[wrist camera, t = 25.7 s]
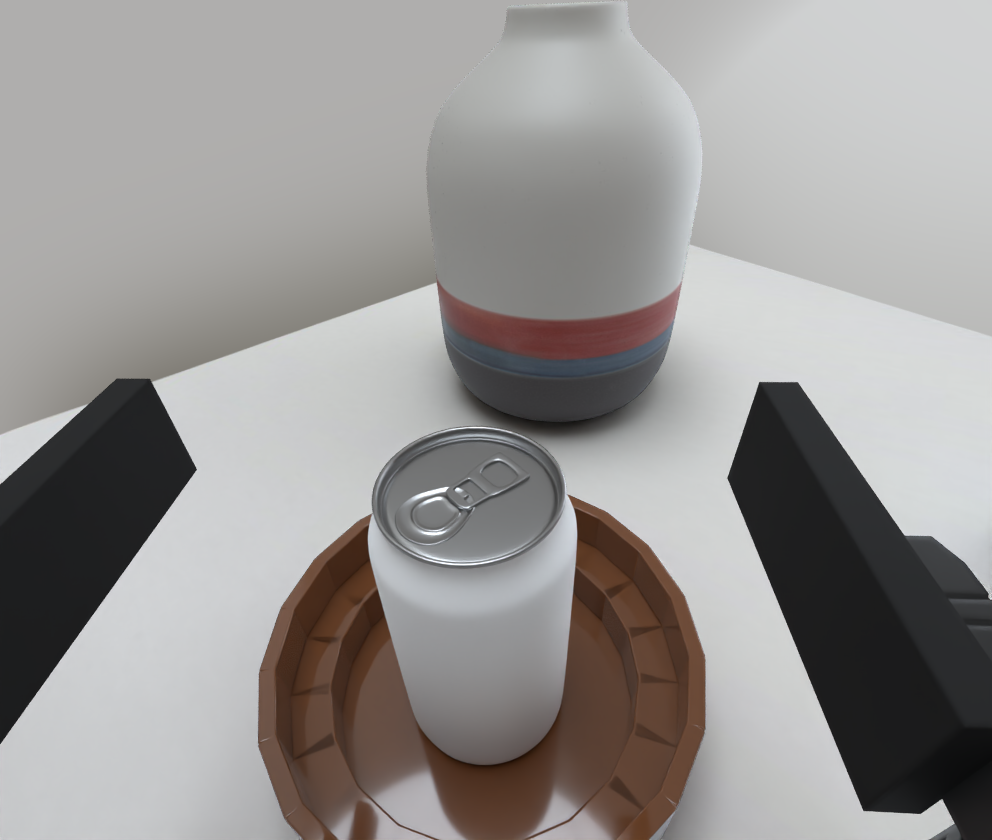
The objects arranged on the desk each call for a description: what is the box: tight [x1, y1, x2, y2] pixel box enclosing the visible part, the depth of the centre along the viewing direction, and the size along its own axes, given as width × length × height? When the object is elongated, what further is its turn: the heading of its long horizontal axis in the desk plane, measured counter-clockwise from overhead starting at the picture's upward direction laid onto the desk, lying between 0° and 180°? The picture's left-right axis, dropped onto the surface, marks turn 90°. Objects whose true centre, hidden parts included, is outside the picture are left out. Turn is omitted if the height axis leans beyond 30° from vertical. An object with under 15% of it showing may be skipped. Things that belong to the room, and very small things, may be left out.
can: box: [368, 426, 577, 765], centre depth 19 cm, size 6×6×12 cm
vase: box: [427, 1, 702, 422], centre depth 36 cm, size 17×17×24 cm
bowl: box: [258, 494, 706, 840], centre depth 22 cm, size 16×16×5 cm
